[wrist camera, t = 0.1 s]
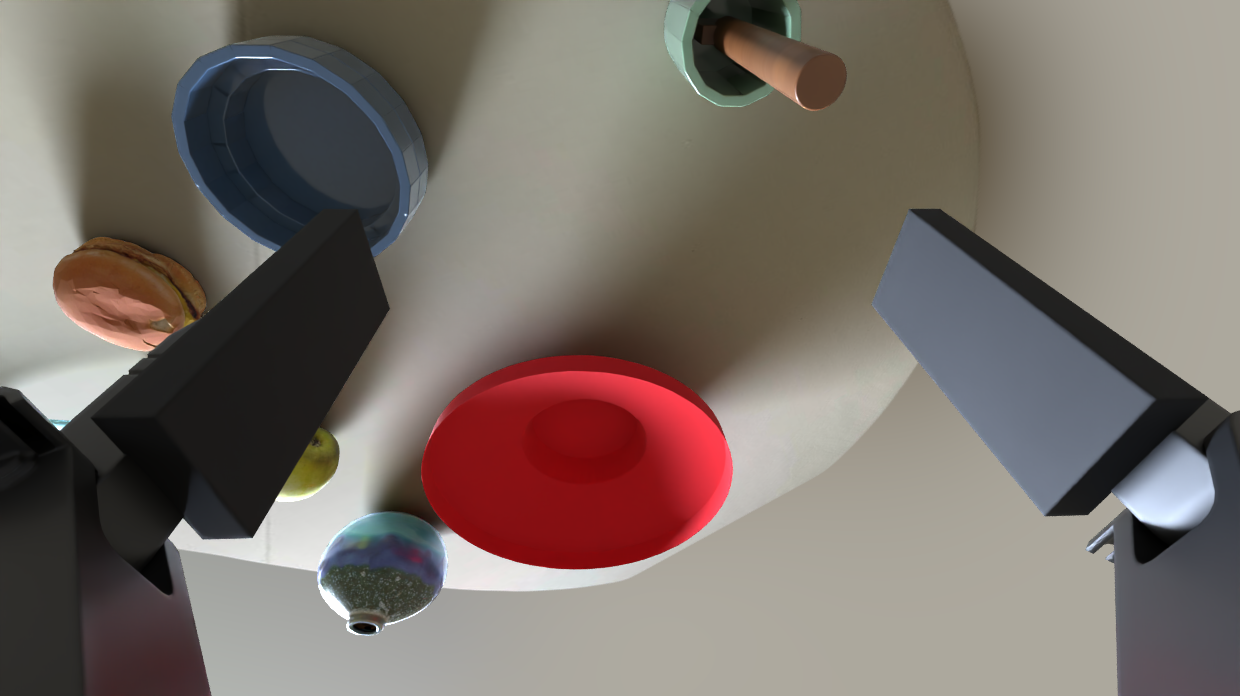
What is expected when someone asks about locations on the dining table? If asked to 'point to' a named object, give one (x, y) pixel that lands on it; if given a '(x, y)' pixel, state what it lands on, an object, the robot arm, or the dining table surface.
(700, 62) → the crock
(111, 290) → the burger
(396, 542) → the vase
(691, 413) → the bowl
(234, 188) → the blue pet dish
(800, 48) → the stick
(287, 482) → the apple
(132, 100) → the dining table surface
